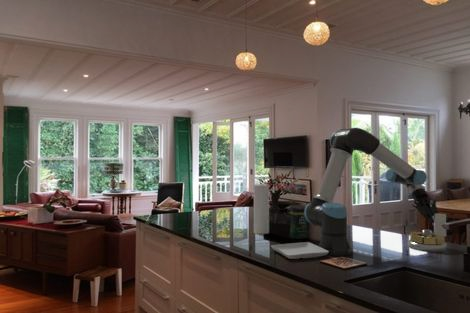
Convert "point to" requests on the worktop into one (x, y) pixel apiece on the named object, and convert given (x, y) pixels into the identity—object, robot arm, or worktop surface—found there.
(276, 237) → the worktop surface
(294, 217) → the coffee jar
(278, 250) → the salad plate
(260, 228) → the cylinder container
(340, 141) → the robot arm
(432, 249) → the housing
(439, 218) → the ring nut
